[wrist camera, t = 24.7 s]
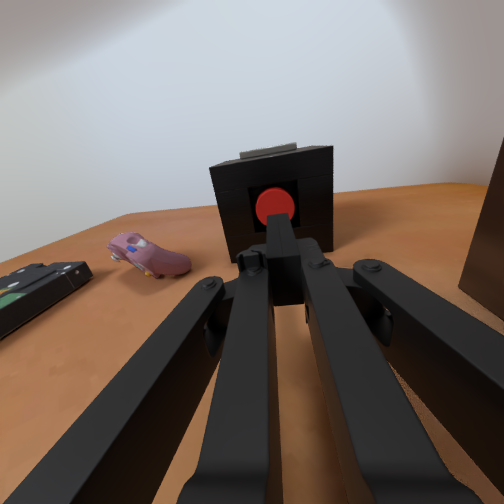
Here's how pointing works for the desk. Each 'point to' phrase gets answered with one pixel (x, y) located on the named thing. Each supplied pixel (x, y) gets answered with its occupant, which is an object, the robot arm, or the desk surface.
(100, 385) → the desk surface
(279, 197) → the button
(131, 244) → the video game controller
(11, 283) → the disk drive
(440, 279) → the desk surface
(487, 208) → the box
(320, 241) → the dark button box
